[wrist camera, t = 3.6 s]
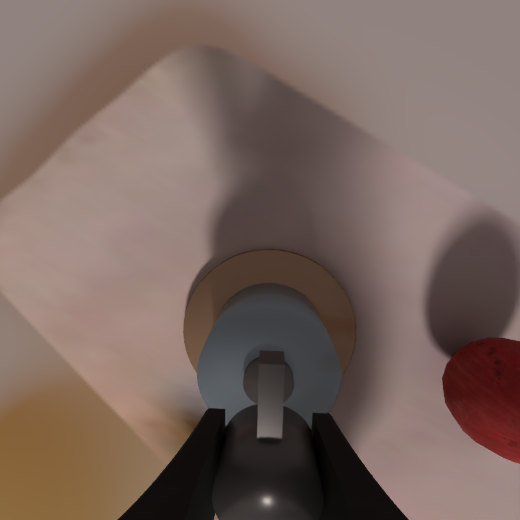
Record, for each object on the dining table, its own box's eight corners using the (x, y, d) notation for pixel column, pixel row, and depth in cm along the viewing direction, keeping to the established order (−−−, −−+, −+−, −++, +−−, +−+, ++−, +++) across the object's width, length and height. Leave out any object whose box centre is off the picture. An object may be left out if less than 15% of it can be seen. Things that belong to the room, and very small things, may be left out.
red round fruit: (432, 309, 18) (556, 392, 10) (521, 325, 18) (714, 420, 10) (406, 389, 19) (500, 518, 11) (490, 404, 19) (641, 543, 11)
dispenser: (265, 432, 20) (264, 515, 15) (152, 327, 19) (105, 377, 14) (388, 335, 18) (437, 391, 13) (272, 211, 17) (273, 216, 12)
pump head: (266, 469, 12) (265, 561, 9) (181, 391, 11) (148, 462, 8) (358, 399, 11) (391, 473, 8) (271, 312, 10) (272, 357, 7)
